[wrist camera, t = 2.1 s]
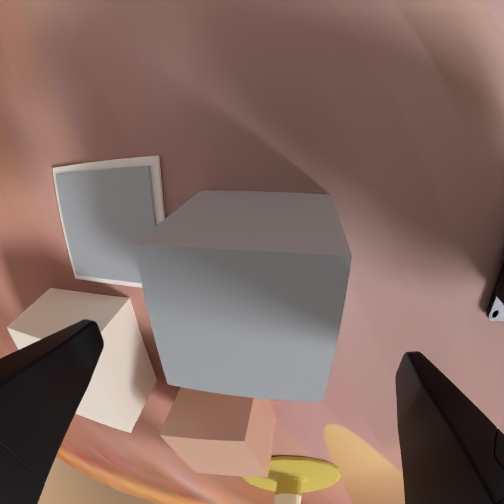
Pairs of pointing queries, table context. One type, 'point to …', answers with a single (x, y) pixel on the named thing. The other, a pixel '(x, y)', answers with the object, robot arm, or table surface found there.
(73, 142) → the table surface
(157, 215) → the tile
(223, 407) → the terracotta block
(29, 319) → the cream block
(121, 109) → the table surface
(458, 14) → the table surface
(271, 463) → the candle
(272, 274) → the grey block
